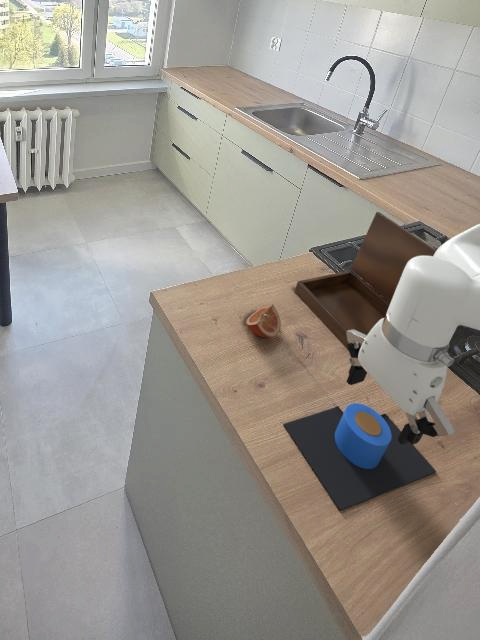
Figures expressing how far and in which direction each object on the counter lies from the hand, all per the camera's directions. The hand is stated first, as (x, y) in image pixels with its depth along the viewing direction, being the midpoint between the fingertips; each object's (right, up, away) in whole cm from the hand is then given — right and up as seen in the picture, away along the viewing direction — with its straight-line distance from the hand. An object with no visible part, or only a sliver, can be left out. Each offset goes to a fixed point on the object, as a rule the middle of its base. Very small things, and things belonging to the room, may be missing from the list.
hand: (379, 409), depth 68 cm
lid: (+23, +14, +27) cm, 38 cm away
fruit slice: (-9, 0, +26) cm, 27 cm away
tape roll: (-1, -9, +4) cm, 10 cm away
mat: (-1, -10, +4) cm, 11 cm away
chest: (+14, +1, +30) cm, 33 cm away
